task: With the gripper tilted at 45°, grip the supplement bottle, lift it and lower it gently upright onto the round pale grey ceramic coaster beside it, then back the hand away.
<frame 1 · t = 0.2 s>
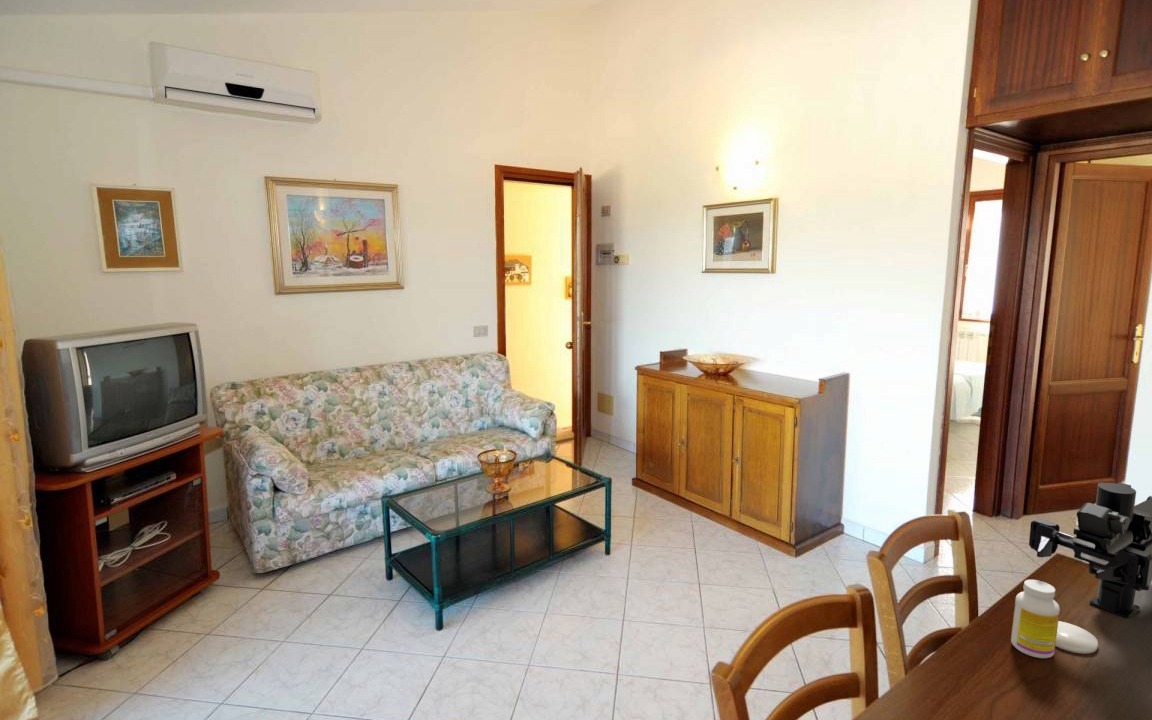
hand: (1066, 564, 114), 17 cm above the table, tool horizontal, fingers open, 9 cm apart
coaster: (1066, 638, 119), on the table
supplement bottle: (1031, 649, 116), on the table
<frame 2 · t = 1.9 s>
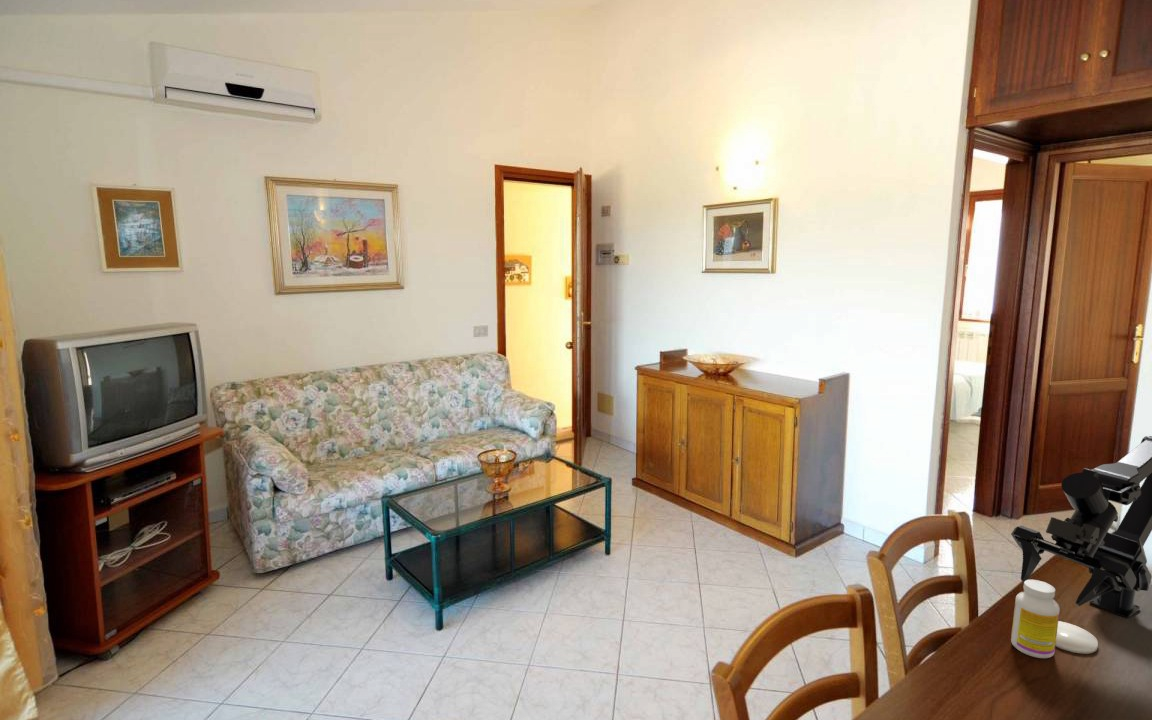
hand: (1048, 592, 116), 11 cm above the table, tool tilted 45°, fingers open, 9 cm apart
nothing on the table moved.
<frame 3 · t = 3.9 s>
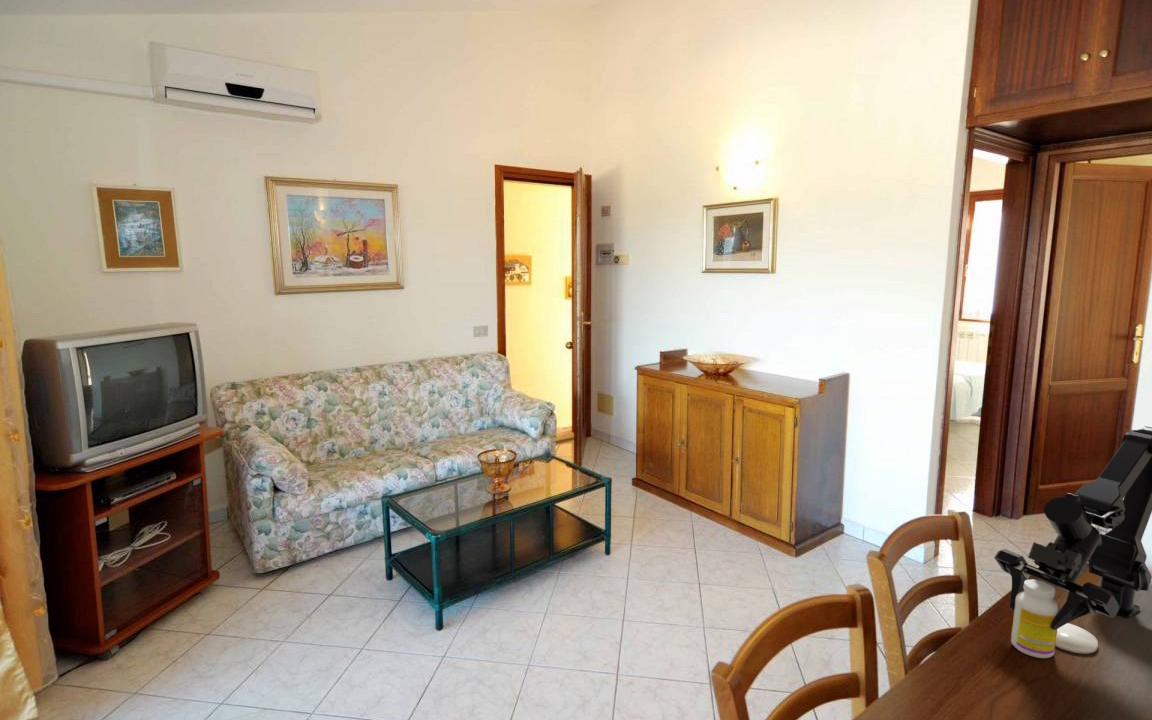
hand: (1031, 618, 114), 7 cm above the table, tool tilted 45°, fingers closed on supplement bottle, 7 cm apart
supplement bottle: (1031, 649, 116), on the table, touching gripper
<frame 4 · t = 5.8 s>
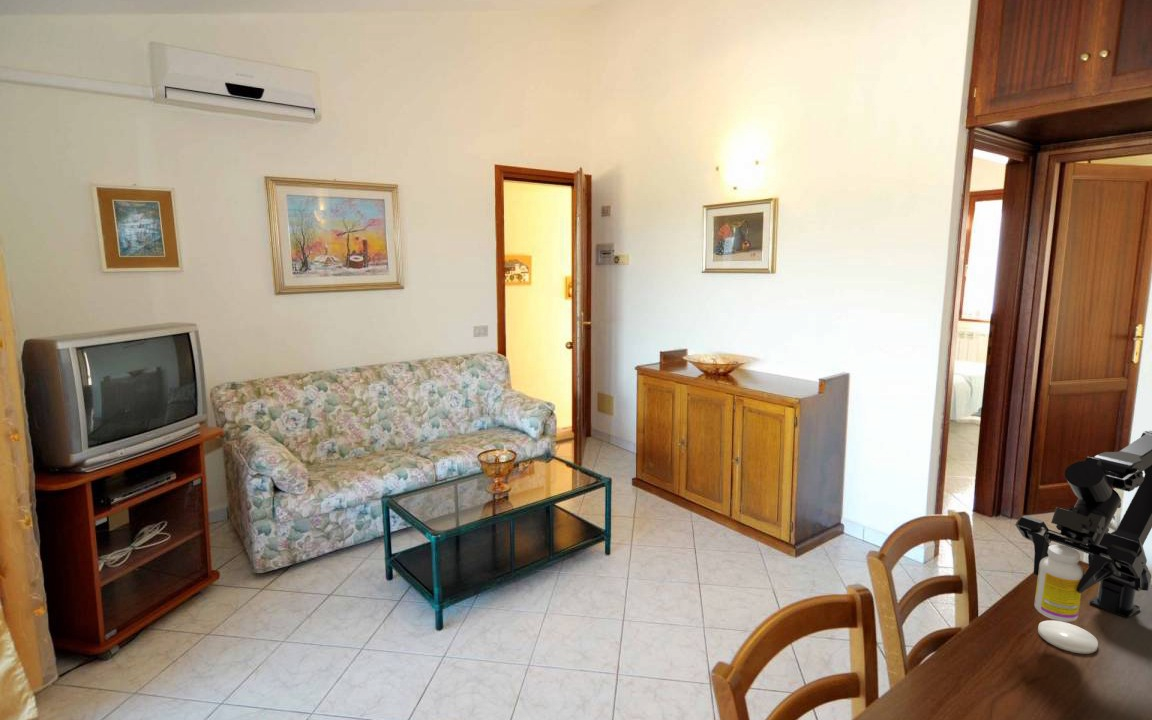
hand: (1056, 583, 115), 13 cm above the table, tool tilted 45°, fingers closed on supplement bottle, 7 cm apart
supplement bottle: (1055, 613, 117), point 6 cm above the table, touching gripper
when the fingers open (9 cm above the table, at t = 8.0 s): supplement bottle drops 1 cm, resting on coaster.
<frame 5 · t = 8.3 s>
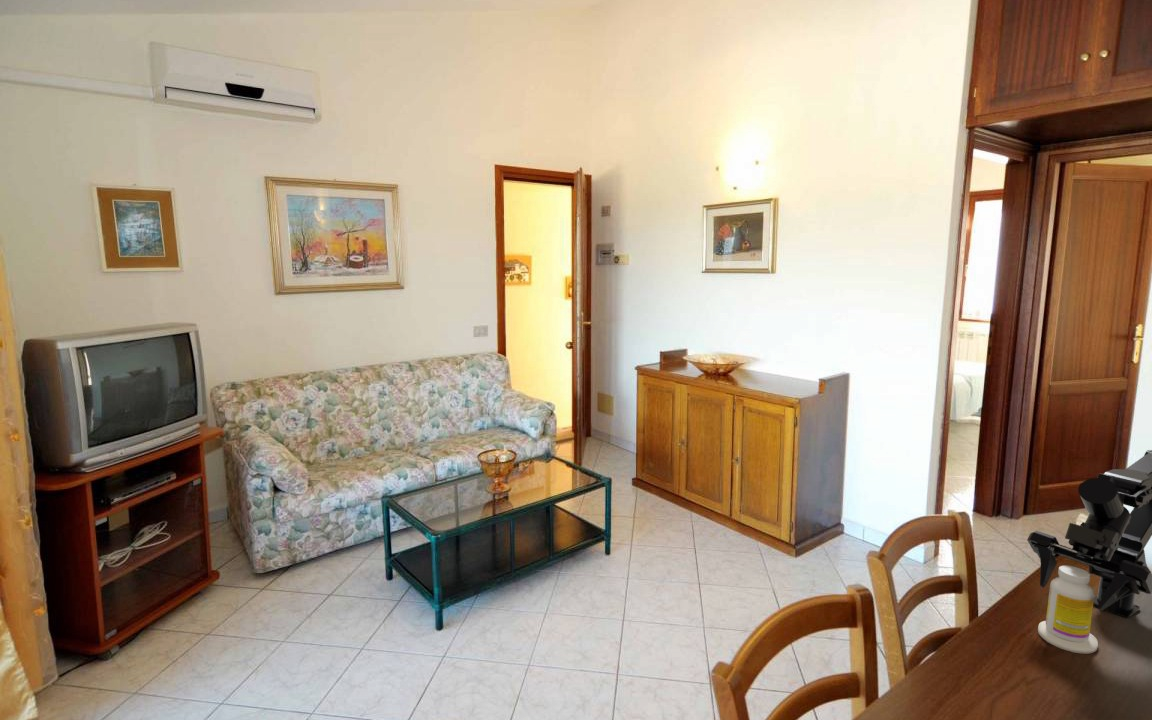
hand: (1069, 597, 117), 9 cm above the table, tool tilted 45°, fingers open, 9 cm apart
supplement bottle: (1066, 633, 119), point 1 cm above the table, touching coaster
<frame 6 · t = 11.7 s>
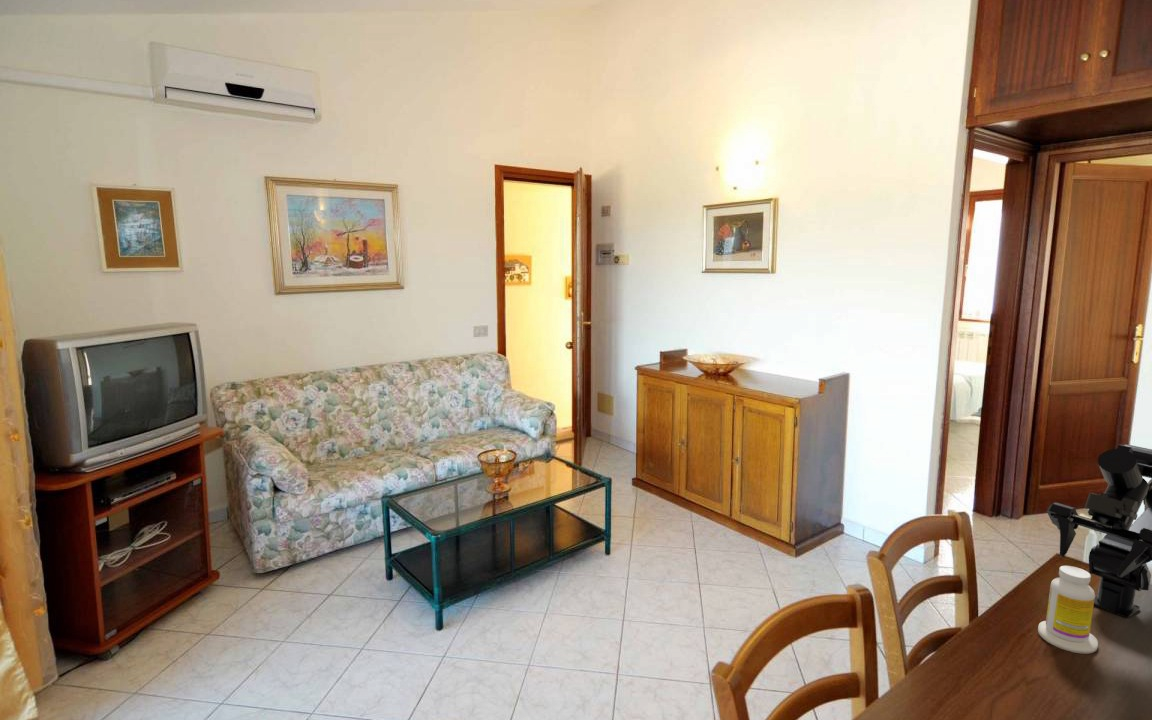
hand: (1089, 566, 119), 14 cm above the table, tool tilted 45°, fingers open, 9 cm apart
nothing on the table moved.
at the end: supplement bottle 0.3 cm from the coaster (horizontally); supplement bottle tilted 0°; the gripper is holding nothing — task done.
